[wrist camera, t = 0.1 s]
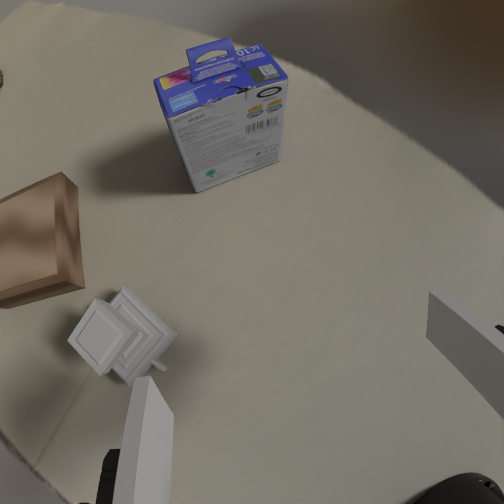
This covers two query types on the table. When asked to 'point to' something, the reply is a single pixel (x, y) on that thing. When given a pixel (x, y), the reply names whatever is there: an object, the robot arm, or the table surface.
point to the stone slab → (1, 79)
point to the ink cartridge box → (225, 112)
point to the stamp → (122, 336)
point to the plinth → (40, 242)
